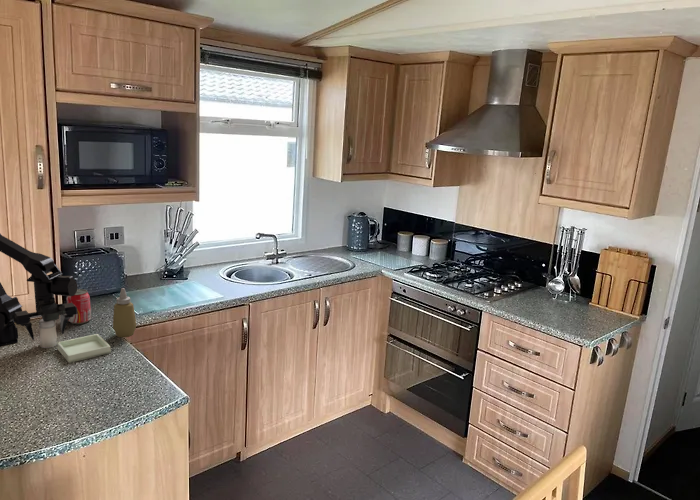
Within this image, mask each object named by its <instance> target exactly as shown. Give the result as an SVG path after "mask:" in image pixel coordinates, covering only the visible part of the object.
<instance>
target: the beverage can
mask: <svg viewBox="0 0 700 500" xmlns="http://www.w3.org/2000/svg"><path fill="white" fill-rule="evenodd" d="M67 303H73V304H74V305H75V306H76V307H77V311H78V314H75V315H74V316H73V317H71V318H70V319H69V320H68V322H70V324H73V325H83V324H87V323H88V322H90V320H91V319H92V309H91V297H90V294H89V292H88V290H87V289H81V288H79V289H78V288H77V292H76V294H75V295H74V296H66V304H67Z"/></svg>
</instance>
